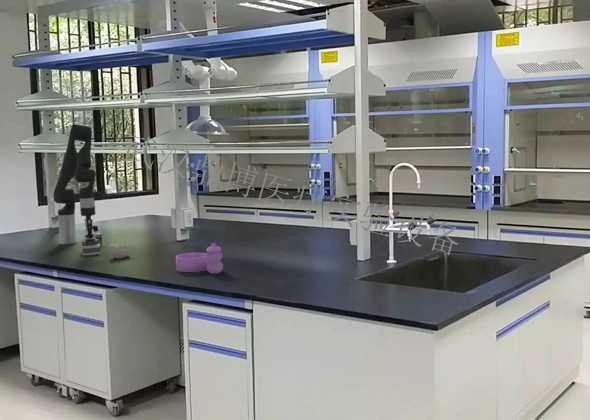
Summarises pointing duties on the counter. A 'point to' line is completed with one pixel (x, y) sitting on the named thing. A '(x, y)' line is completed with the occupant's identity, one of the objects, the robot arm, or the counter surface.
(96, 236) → the medicine bottle
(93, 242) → the octagon ring plate
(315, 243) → the counter surface
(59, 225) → the robot arm
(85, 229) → the lens
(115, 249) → the fossil replica
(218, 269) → the container set
